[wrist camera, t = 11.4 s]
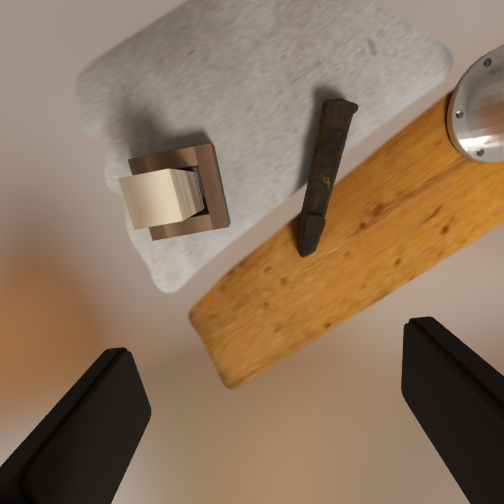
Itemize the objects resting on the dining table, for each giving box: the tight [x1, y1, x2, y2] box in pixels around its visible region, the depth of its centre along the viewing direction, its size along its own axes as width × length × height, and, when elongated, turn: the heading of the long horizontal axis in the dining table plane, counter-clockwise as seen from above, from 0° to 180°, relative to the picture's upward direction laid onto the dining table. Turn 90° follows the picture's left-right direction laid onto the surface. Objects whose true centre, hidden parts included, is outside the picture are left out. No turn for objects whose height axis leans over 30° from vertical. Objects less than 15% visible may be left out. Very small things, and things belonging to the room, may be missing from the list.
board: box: [128, 143, 230, 241], centre depth 31 cm, size 10×10×3 cm
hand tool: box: [298, 98, 358, 257], centre depth 30 cm, size 19×4×5 cm, turn 167°
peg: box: [118, 169, 204, 230], centre depth 27 cm, size 5×5×12 cm
